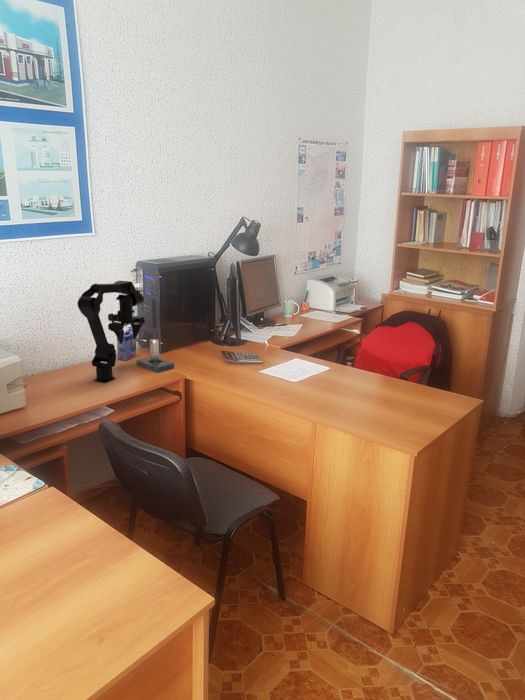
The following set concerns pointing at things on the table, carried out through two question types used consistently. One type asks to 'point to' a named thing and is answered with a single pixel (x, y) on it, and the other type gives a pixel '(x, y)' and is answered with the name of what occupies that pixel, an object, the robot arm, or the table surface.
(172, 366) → the jig
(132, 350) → the ink cartridge box
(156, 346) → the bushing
